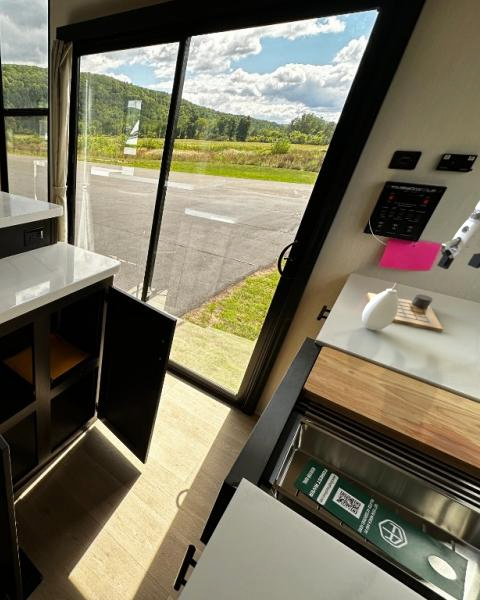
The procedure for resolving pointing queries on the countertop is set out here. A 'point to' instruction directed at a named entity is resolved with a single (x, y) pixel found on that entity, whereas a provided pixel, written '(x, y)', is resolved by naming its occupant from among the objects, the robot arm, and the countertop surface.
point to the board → (414, 315)
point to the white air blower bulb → (381, 310)
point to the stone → (422, 301)
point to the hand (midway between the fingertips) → (457, 267)
